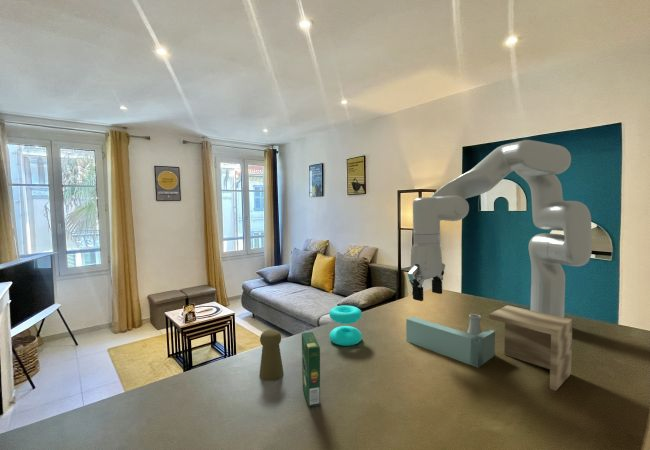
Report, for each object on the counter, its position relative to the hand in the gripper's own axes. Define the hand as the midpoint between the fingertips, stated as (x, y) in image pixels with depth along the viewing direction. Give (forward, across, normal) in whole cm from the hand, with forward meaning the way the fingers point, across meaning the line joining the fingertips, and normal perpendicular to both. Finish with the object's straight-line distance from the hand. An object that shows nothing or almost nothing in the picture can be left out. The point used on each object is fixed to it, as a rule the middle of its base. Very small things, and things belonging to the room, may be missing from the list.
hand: (427, 296), depth 97 cm
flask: (+15, -7, +10) cm, 20 cm away
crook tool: (+15, -2, +5) cm, 16 cm away
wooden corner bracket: (+15, -6, +25) cm, 30 cm away
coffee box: (+14, +43, -1) cm, 45 cm away
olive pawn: (+13, +45, -15) cm, 49 cm away
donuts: (+14, +17, -18) cm, 29 cm away
